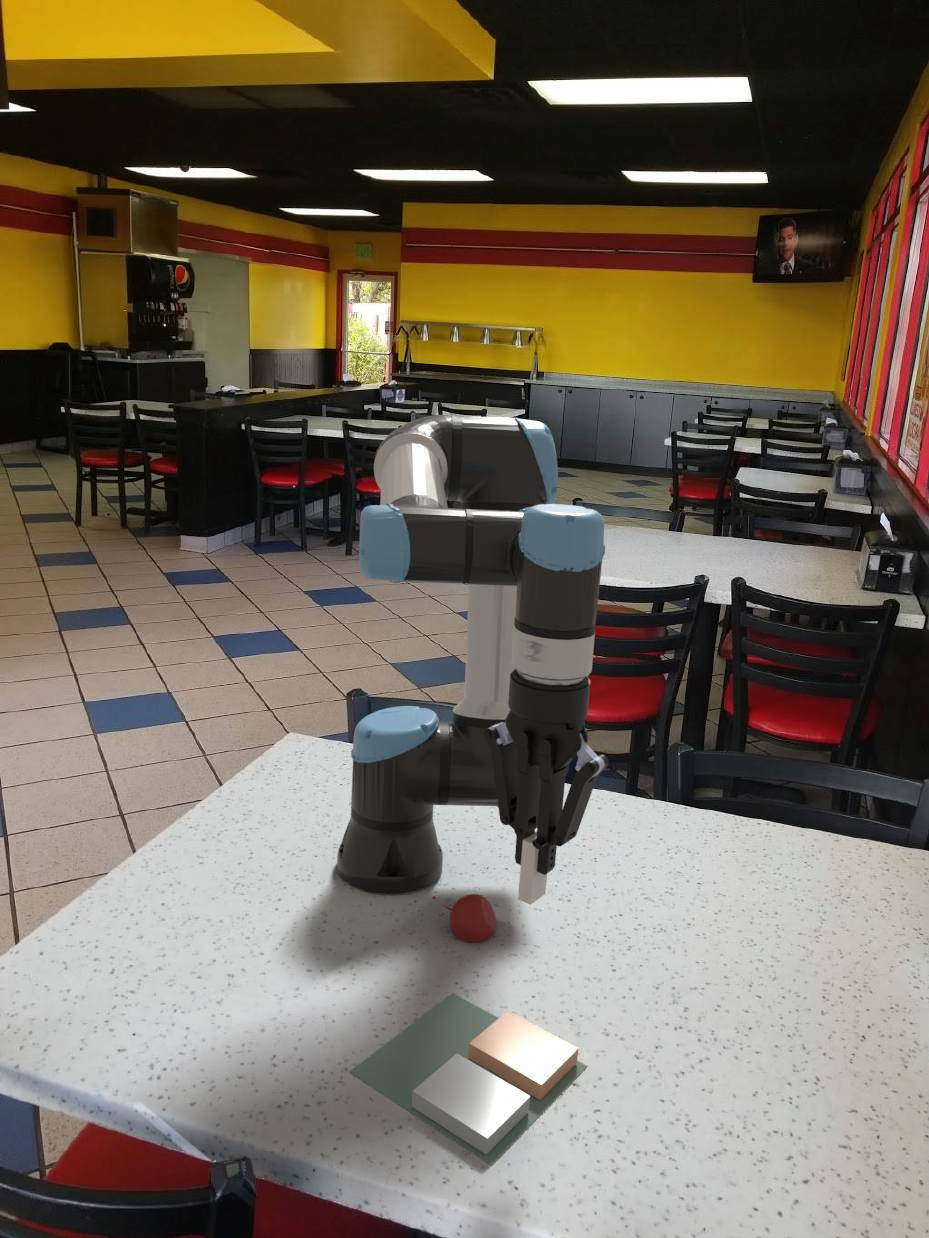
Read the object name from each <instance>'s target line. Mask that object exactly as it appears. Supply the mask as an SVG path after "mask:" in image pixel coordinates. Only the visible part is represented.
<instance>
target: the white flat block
mask: <svg viewBox="0 0 929 1238" xmlns="http://www.w3.org/2000/svg"><path fill="white" fill-rule="evenodd" d="M529 1105H530V1096H529V1095H527V1094H526V1093H524V1092H522V1091H521V1090H519V1089H517V1088H516V1087H514V1086H512V1085H510V1084H509V1083H507V1082H505V1081H504V1080H502V1079H500V1078H498V1077H497V1076H495V1075H493V1074H492V1073H490V1072H488V1071H487V1070H485V1069H483V1068H481V1067H480V1066H478V1065H476V1064H475V1063H473V1062H471V1061H470V1060H468V1059H466V1058H464V1057H463V1056H461V1055H459V1054H458V1053H457V1054H456V1055H455V1056H453V1057H452V1058H451V1059H450V1060H449V1061H447V1062H446V1063H445V1064H444V1065H443V1066H441V1067H440V1068H439V1069H438V1070H437V1071H435V1072H434V1073H433V1074H432V1075H431V1076H430V1077H428V1078H427V1079H426V1080H425V1081H424V1082H422V1083H421V1084H420V1085H419V1086H418V1087H416V1088H415V1089H414V1090H413V1091H412V1107H413V1108H415V1109H416V1110H418V1111H419V1112H421V1113H423V1114H424V1115H426V1116H427V1117H429V1118H430V1119H432V1120H433V1121H435V1122H436V1123H438V1124H439V1125H441V1126H442V1127H444V1128H446V1129H447V1130H449V1131H450V1132H452V1133H453V1134H455V1135H456V1136H458V1137H459V1138H461V1139H462V1140H464V1141H466V1142H467V1143H469V1144H470V1145H472V1146H473V1147H475V1148H476V1149H478V1150H479V1151H481V1152H482V1153H484V1154H486V1155H487V1154H488V1153H489V1152H490V1151H491V1150H492V1149H493V1148H494V1147H495V1146H496V1144H497V1143H498V1142H499V1141H500V1140H501V1139H502V1138H503V1137H504V1136H505V1135H506V1134H507V1133H508V1132H509V1131H510V1130H511V1129H512V1128H513V1127H514V1126H515V1125H516V1124H517V1123H518V1122H519V1121H520V1120H521V1119H522V1118H523V1117H524V1116H525V1115H526V1114H527V1113H528V1112H529Z"/></svg>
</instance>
